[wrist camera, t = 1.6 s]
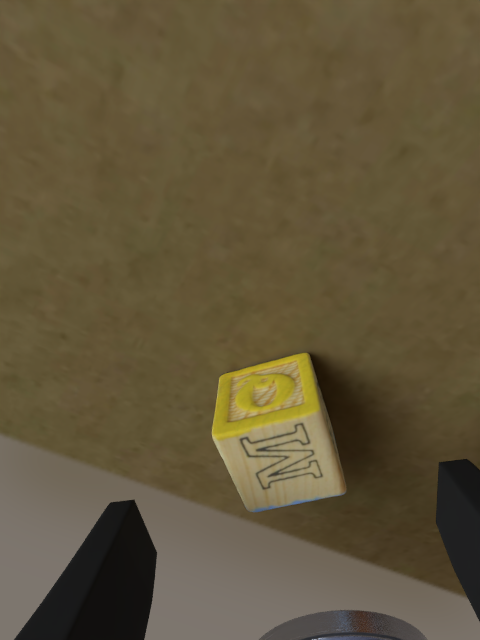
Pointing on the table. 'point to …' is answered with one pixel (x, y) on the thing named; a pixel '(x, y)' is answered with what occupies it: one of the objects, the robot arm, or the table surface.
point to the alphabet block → (277, 434)
